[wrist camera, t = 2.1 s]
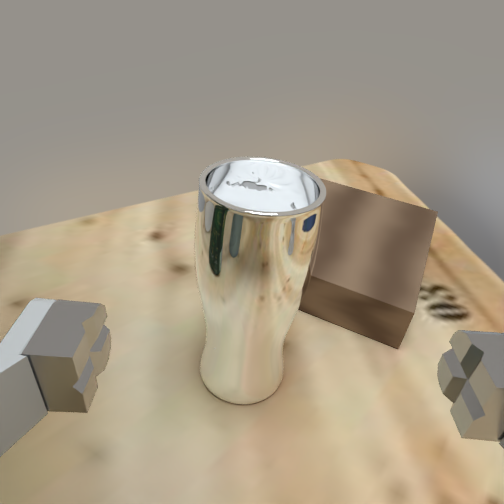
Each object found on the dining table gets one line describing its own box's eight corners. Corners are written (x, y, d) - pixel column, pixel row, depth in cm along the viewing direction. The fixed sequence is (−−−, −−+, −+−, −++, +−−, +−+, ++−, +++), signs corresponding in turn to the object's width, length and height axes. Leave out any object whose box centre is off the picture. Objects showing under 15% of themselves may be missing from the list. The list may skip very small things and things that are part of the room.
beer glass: (239, 319, 33) (256, 145, 25) (307, 368, 30) (356, 186, 21) (173, 367, 29) (165, 176, 20) (245, 432, 25) (273, 234, 17)
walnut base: (205, 272, 38) (206, 237, 36) (280, 197, 51) (284, 168, 49) (398, 348, 32) (414, 313, 30) (425, 242, 46) (437, 211, 43)
